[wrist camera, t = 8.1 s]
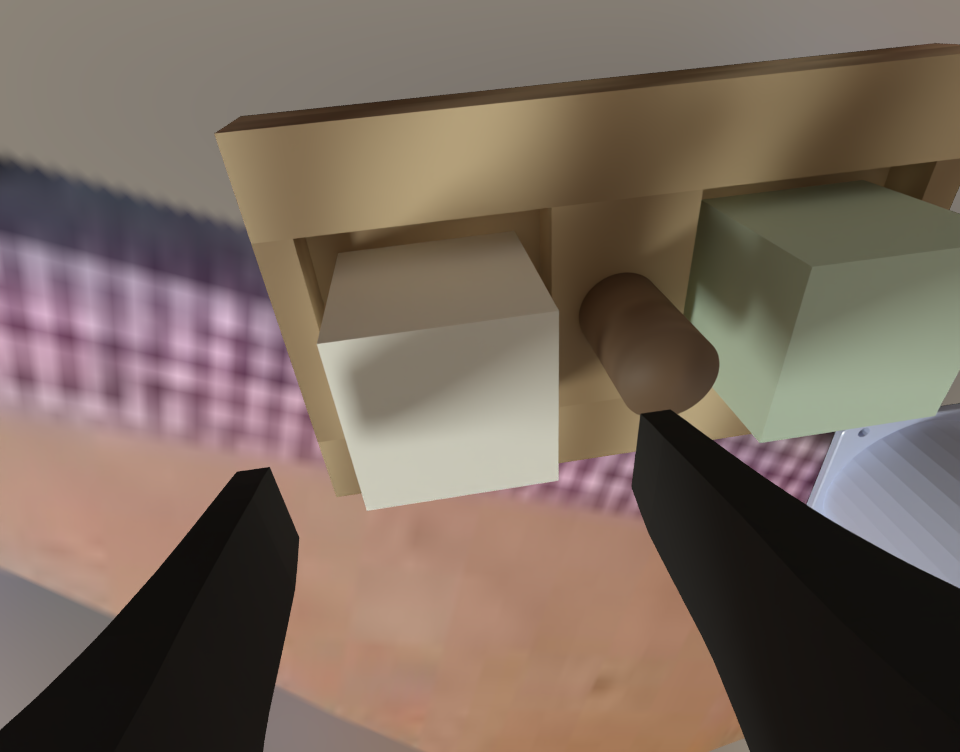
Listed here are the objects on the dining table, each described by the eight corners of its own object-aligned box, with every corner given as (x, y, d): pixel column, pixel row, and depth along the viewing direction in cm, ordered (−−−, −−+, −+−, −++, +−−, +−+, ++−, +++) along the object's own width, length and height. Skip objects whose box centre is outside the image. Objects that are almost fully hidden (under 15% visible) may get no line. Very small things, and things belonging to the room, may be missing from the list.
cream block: (514, 230, 15) (558, 310, 11) (520, 374, 18) (558, 480, 14) (338, 253, 15) (316, 344, 11) (373, 395, 18) (367, 510, 14)
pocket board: (935, 43, 15) (1198, 57, 10) (817, 379, 21) (941, 487, 16) (240, 116, 14) (155, 172, 9) (342, 449, 20) (325, 588, 15)
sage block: (863, 180, 16) (1029, 238, 12) (815, 327, 19) (935, 415, 14) (700, 199, 15) (812, 267, 11) (677, 346, 18) (759, 442, 14)
